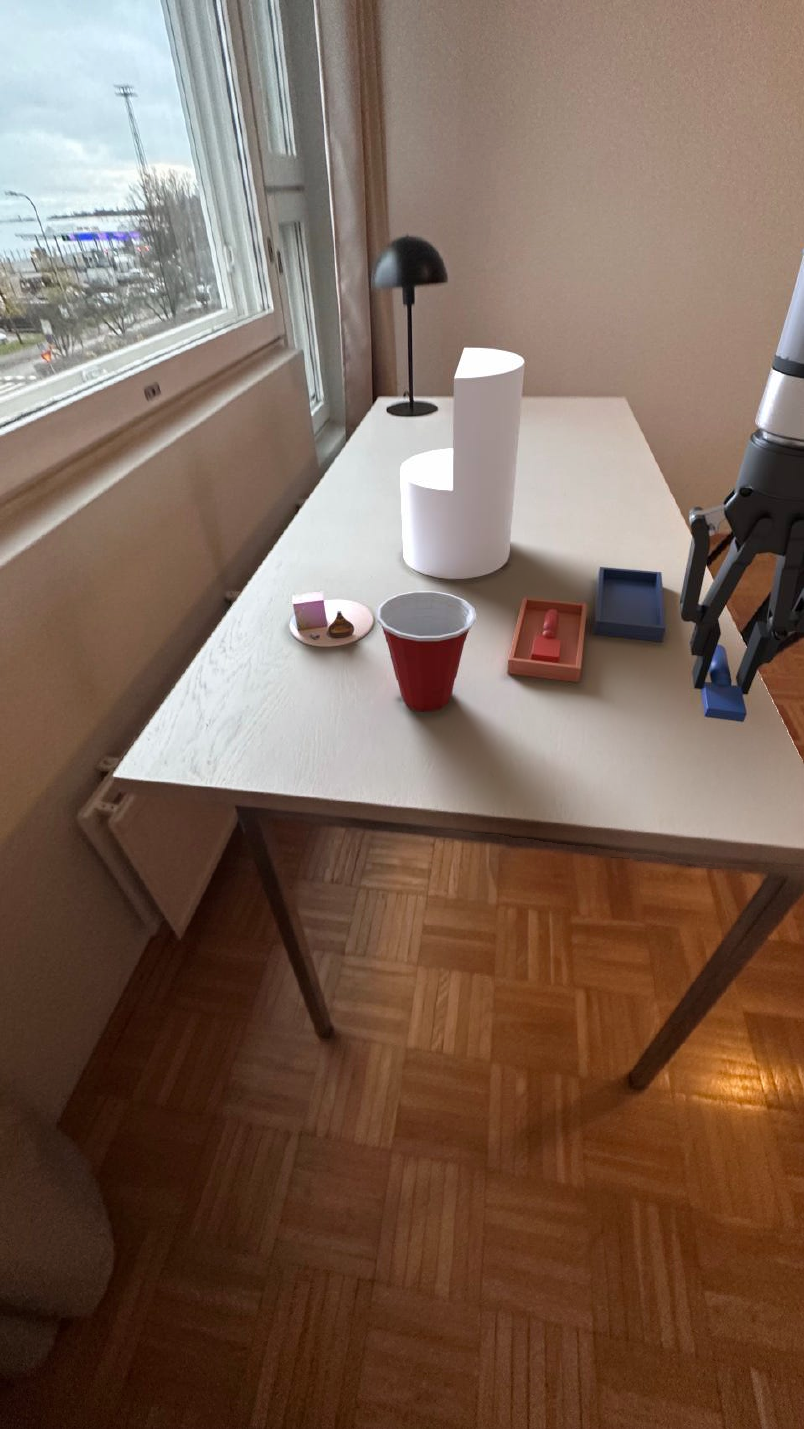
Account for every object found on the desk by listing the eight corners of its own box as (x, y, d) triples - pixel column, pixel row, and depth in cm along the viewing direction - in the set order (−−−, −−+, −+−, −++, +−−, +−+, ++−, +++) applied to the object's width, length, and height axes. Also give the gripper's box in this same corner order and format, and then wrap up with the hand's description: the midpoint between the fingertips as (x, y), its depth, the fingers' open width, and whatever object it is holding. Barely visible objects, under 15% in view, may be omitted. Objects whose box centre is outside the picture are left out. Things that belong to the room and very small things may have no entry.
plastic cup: (488, 685, 77) (493, 599, 69) (444, 737, 70) (445, 649, 62) (412, 659, 82) (409, 576, 74) (364, 706, 75) (356, 620, 67)
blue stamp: (695, 653, 67) (700, 639, 65) (730, 657, 66) (735, 642, 65) (704, 717, 59) (709, 702, 58) (743, 722, 58) (749, 707, 57)
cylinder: (510, 531, 109) (524, 347, 90) (507, 581, 96) (524, 378, 78) (411, 528, 111) (405, 348, 93) (395, 576, 98) (385, 378, 80)
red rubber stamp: (539, 616, 87) (540, 605, 86) (564, 619, 86) (566, 608, 85) (530, 661, 79) (531, 649, 78) (558, 664, 79) (559, 652, 77)
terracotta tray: (584, 616, 88) (587, 603, 86) (578, 682, 77) (581, 668, 75) (521, 610, 90) (523, 597, 88) (506, 673, 79) (508, 659, 77)
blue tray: (658, 584, 93) (661, 572, 92) (661, 642, 82) (665, 628, 81) (597, 579, 95) (599, 566, 94) (593, 634, 84) (595, 620, 83)
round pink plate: (291, 652, 84) (286, 623, 81) (286, 606, 93) (281, 579, 90) (380, 639, 85) (378, 610, 82) (367, 595, 94) (364, 568, 91)
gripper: (917, 422, 48) (803, 671, 63) (686, 415, 52) (631, 652, 67) (954, 454, 42) (820, 719, 57) (693, 445, 46) (631, 695, 61)
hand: (719, 683), depth 62 cm, fingers closed on blue stamp, 3 cm apart
